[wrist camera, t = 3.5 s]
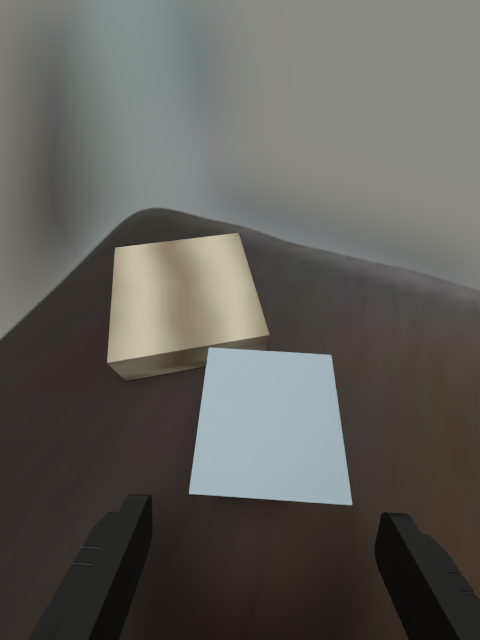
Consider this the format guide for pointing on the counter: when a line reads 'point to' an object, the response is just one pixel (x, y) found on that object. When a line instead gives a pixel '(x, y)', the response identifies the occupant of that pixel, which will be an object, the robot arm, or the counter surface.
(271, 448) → the grey rectangular block
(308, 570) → the counter surface
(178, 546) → the counter surface
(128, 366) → the beech block
